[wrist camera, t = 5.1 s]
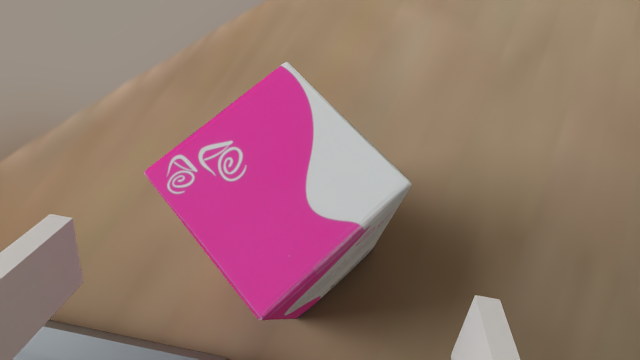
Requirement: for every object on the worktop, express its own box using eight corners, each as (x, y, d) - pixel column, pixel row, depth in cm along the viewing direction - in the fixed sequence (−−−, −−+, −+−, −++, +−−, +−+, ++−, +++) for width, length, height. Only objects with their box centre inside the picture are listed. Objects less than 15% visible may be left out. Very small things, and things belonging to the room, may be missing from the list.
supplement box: (303, 169, 24) (290, 51, 13) (376, 247, 23) (427, 189, 12) (222, 236, 23) (135, 169, 12) (293, 323, 22) (267, 334, 11)
